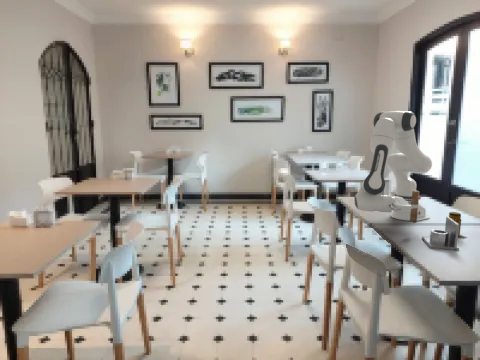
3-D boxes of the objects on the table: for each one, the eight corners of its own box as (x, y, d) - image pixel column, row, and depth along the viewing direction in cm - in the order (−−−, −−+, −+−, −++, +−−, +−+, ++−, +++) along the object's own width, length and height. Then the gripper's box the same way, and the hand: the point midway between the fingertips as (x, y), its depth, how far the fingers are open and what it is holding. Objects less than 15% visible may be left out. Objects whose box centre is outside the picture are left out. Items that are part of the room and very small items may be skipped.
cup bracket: (430, 248, 166) (432, 223, 164) (422, 238, 179) (424, 215, 177) (458, 250, 163) (461, 225, 161) (448, 240, 177) (450, 217, 175)
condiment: (442, 233, 188) (444, 211, 186) (458, 233, 188) (461, 211, 186) (450, 237, 181) (452, 214, 179) (467, 238, 181) (469, 215, 179)
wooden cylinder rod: (413, 220, 185) (415, 190, 182) (418, 222, 182) (420, 191, 179) (408, 221, 184) (410, 190, 181) (412, 223, 181) (415, 192, 178)
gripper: (391, 202, 173) (422, 204, 170) (384, 193, 193) (412, 194, 190) (390, 215, 174) (421, 216, 172) (383, 204, 194) (411, 206, 191)
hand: (416, 205), depth 181 cm, fingers closed on wooden cylinder rod, 3 cm apart
